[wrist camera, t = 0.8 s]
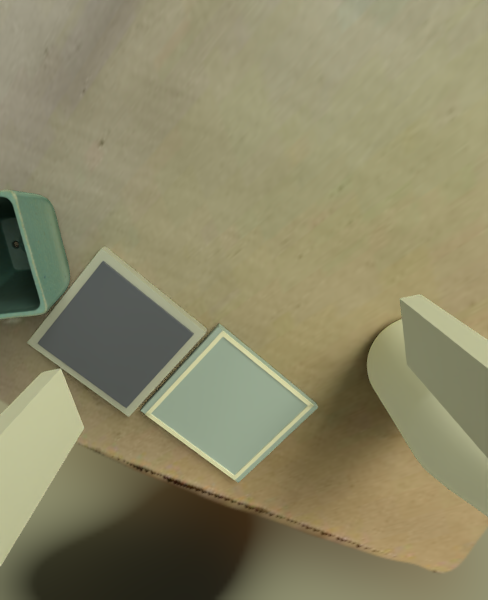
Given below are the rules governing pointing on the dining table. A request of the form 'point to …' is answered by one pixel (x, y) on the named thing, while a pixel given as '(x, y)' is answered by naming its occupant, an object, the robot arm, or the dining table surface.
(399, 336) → the wine bottle
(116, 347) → the ink pad
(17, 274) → the flower pot
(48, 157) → the dining table surface
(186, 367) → the board
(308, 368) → the dining table surface
